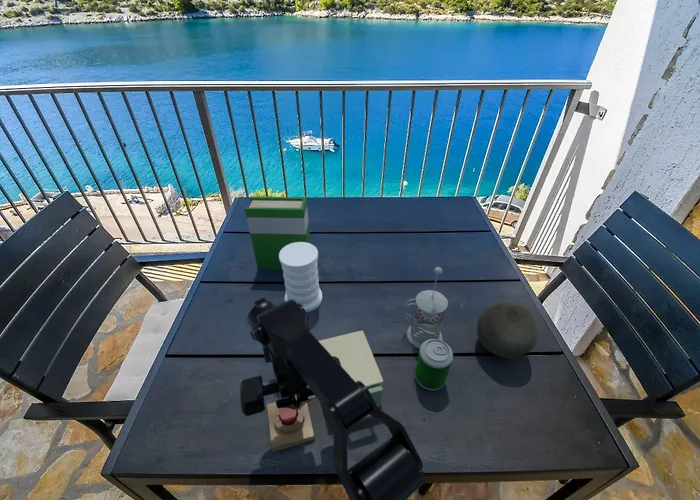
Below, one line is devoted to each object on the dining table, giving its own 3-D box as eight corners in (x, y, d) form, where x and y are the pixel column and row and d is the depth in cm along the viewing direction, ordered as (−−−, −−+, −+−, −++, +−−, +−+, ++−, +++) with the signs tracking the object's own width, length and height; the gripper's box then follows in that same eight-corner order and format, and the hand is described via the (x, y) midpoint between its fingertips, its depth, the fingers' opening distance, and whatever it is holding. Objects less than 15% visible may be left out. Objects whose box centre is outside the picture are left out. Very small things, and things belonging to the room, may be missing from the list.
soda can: (447, 393, 84) (457, 364, 76) (416, 392, 84) (423, 363, 76) (441, 365, 90) (450, 336, 82) (412, 365, 90) (418, 336, 82)
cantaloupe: (463, 353, 92) (476, 316, 83) (480, 319, 102) (494, 282, 92) (519, 381, 86) (539, 344, 77) (531, 342, 95) (551, 304, 86)
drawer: (388, 425, 77) (390, 408, 72) (338, 440, 74) (337, 424, 70) (362, 358, 90) (363, 340, 86) (320, 369, 88) (318, 351, 83)
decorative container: (316, 315, 103) (312, 270, 92) (279, 309, 105) (270, 263, 94) (326, 288, 112) (324, 244, 100) (292, 283, 114) (286, 238, 102)
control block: (314, 439, 75) (313, 432, 73) (272, 452, 73) (270, 445, 71) (305, 397, 83) (304, 389, 81) (267, 407, 81) (265, 400, 79)
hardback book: (257, 268, 119) (244, 208, 104) (262, 255, 125) (250, 196, 110) (309, 269, 119) (303, 209, 104) (311, 256, 124) (306, 197, 110)
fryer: (381, 402, 82) (383, 381, 76) (329, 417, 79) (327, 396, 73) (362, 351, 93) (362, 330, 87) (315, 363, 90) (313, 341, 84)
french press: (440, 354, 92) (458, 286, 77) (397, 342, 95) (406, 275, 80) (444, 326, 100) (461, 259, 84) (404, 316, 102) (414, 250, 87)
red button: (298, 422, 75) (297, 418, 74) (281, 426, 74) (280, 423, 73) (295, 406, 78) (294, 402, 77) (279, 411, 77) (278, 407, 76)
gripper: (329, 314, 68) (332, 361, 78) (231, 337, 64) (247, 384, 74) (345, 361, 60) (347, 408, 69) (233, 391, 56) (251, 436, 65)
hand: (297, 407), depth 70 cm, fingers closed
